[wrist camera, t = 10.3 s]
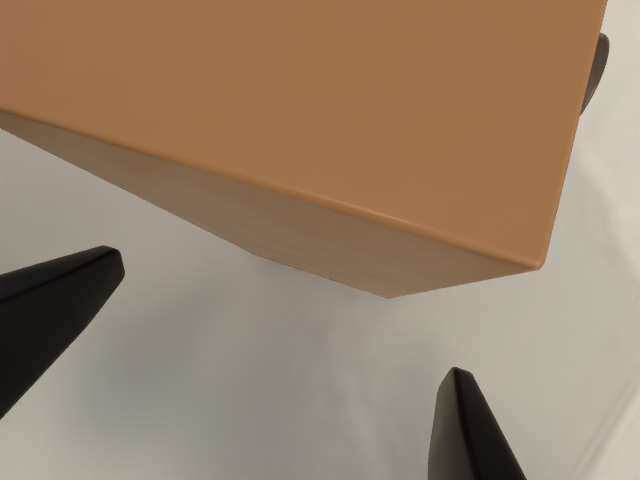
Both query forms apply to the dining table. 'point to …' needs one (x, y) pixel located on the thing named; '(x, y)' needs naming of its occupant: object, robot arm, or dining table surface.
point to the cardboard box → (319, 122)
